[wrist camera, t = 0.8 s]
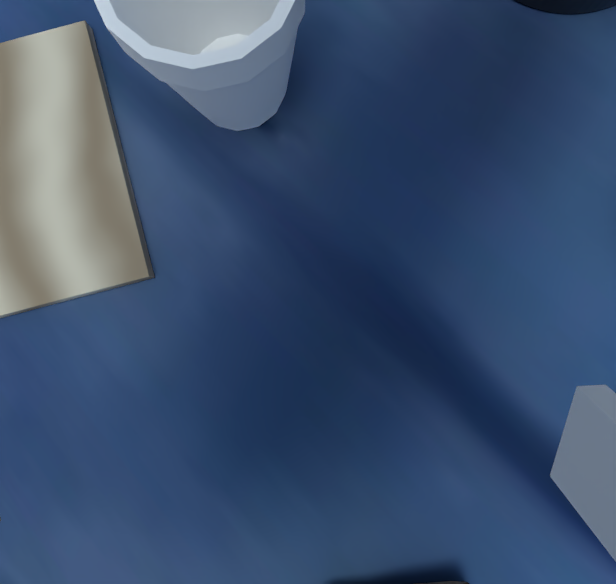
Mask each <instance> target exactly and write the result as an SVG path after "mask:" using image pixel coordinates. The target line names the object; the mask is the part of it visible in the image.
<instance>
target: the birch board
mask: <svg viewBox="0 0 616 584" xmlns="http://www.w3.org/2000/svg"><path fill="white" fill-rule="evenodd" d="M151 278H155V277H154V273H153V269H152V265H151V261H150V257H149V253H148V249H147V245H146V241H145V237H144V233H143V229H142V225H141V221H140V217H139V213H138V209H137V205H136V201H135V197H134V193H133V189H132V185H131V181H130V177H129V173H128V169H127V166H126V162H125V158H124V154H123V150H122V146H121V142H120V138H119V134H118V130H117V126H116V122H115V118H114V114H113V110H112V106H111V102H110V98H109V94H108V90H107V86H106V82H105V78H104V74H103V70H102V66H101V62H100V58H99V54H98V50H97V46H96V42H95V38H94V34H93V31H92V29H91V28H90V26H89V25H88V24H87V23H86V21H81V22H77V23H73V24H70V25H66V26H62V27H59V28H55V29H51V30H47V31H44V32H40V33H36V34H32V35H29V36H25V37H21V38H17V39H14V40H10V41H6V42H3V43H0V318H3V317H7V316H10V315H14V314H18V313H22V312H26V311H29V310H33V309H37V308H41V307H45V306H48V305H52V304H56V303H60V302H64V301H67V300H71V299H75V298H79V297H83V296H86V295H90V294H94V293H98V292H102V291H106V290H109V289H113V288H117V287H121V286H125V285H128V284H132V283H136V282H140V281H144V280H147V279H151Z"/></svg>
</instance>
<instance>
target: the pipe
mask: <svg viewBox="0 0 616 584" xmlns="http://www.w3.org/2000/svg"><path fill="white" fill-rule="evenodd" d="M415 584H469V583H467V582H464V581H462V582H459V581H442V582H430V583H415Z"/></svg>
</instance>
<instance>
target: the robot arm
mask: <svg viewBox="0 0 616 584" xmlns="http://www.w3.org/2000/svg"><path fill="white" fill-rule="evenodd" d="M516 1H518V2H520V3H523V4H525V5H527V6H530V7H533V8H536V9H540V10H544V11H548V12H555V13H565V14H576V13H587V12H593V11H598V10H602V9H605V8H609V7H611V6H614V5H616V0H516ZM550 477H551V478H552V479H553V481H554V482H555V483H556V485H557V486H558V487H559V489H560V490H561V491H562V492H563V494H564V495H565V496H566V498H567V499H568V500H569V502H570V503H571V504H572V505H573V507H574V508H575V509H576V511H577V512H578V513H579V515H580V516H581V517H582V518H583V520H584V521H585V522H586V524H587V525H588V526H589V528H590V529H591V530H592V531H593V533H594V534H595V535H596V537H597V538H598V539H599V541H600V542H601V543H602V544H603V546H604V547H605V548H606V550H607V551H608V552H609V554H610V555H611V556H612V557H613V559H614V560H615V561H616V393H615V392H613V391H612V390H611V389H610V388H609V387H608V386H607V385H590V386H577V387H576V390H575V394H574V397H573V400H572V404H571V407H570V410H569V414H568V417H567V420H566V424H565V427H564V430H563V434H562V437H561V440H560V444H559V447H558V450H557V454H556V457H555V460H554V464H553V467H552V470H551V474H550ZM0 521H1V518H0Z"/></svg>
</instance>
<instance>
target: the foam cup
mask: <svg viewBox="0 0 616 584" xmlns="http://www.w3.org/2000/svg"><path fill="white" fill-rule="evenodd" d="M94 2H95V4H96V6H97V8H98V10H99V12H100V15H101V17H102V19H103V21H104V23H105V26H106V28H107V29H108V30H109V32H110V33H111V34H112V35H113V37H114V38H115V39H116V41H117V42H118V43H119V45H120V46H121V47H122V49H123V50H124V51H125V53H126V54H128V55H129V56H130V57H131V58H133V59H134V60H135V61H136V62H138V63H139V64H140V65H141V66H142V67H144V68H145V69H146V70H147V71H149V72H150V73H151V74H152V75H154V76H155V77H156V78H157V79H158V80H160V81H163V82H166V83H167V84H168V85H169V86H170V87H171V88H173V89H174V90H175V91H176V92H177V93H178V94H179V95H180V96H182V97H183V98H184V99H185V100H186V101H187V102H188V103H190V104H191V105H192V106H193V107H194V108H195V109H196V110H198V111H199V112H200V113H201V114H203V115H204V116H205V117H206V118H207V119H209V120H210V121H211V122H212V123H214V124H215V125H216V126H218V127H223V128H227V129H231V130H235V131H241V130H245V129H250V128H254V127H259V126H260V125H262V124H263V123H264V122H265V121H267V120H268V119H269V118H271V117H272V116H273V115H274V114H276V112H277V110H278V108H279V106H280V104H281V102H282V100H283V98H284V96H285V94H286V90H287V85H288V79H289V74H290V68H291V63H292V57H293V52H294V46H295V41H296V36H297V30H298V26H299V24H300V22H301V20H302V18H303V16H304V14H305V0H94Z"/></svg>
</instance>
